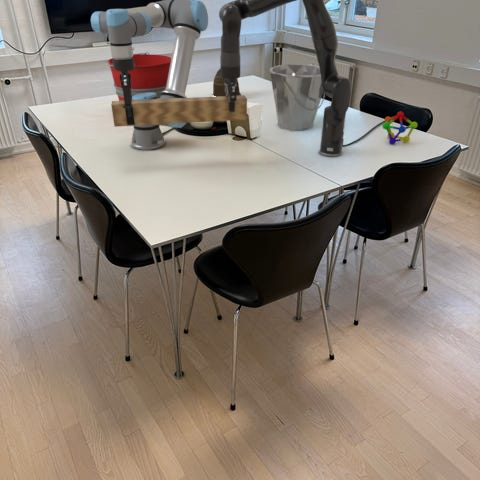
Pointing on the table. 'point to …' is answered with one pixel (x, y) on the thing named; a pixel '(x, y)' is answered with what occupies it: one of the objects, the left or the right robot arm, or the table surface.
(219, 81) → the bell
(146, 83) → the bucket
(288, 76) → the bucket
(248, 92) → the table surface
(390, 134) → the educational toy
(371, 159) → the table surface
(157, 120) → the beam
